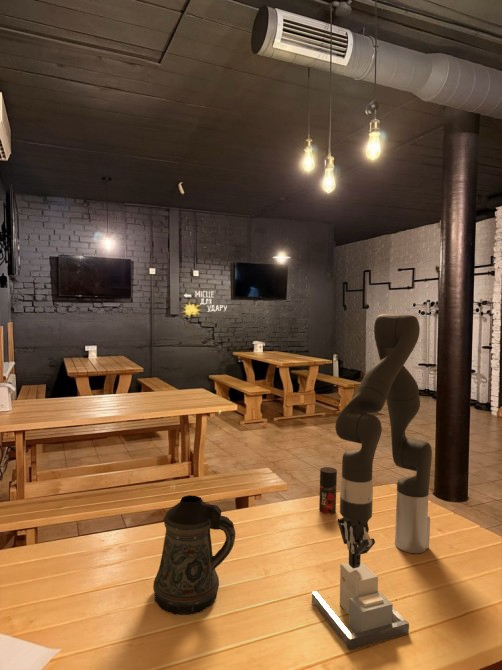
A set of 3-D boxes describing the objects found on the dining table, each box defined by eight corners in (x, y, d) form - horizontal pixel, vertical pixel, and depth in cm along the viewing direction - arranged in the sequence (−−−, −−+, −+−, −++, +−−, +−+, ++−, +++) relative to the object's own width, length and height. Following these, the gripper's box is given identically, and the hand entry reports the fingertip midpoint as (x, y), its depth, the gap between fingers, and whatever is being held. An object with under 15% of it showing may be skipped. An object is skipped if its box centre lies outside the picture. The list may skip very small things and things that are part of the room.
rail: (364, 589, 119) (364, 580, 119) (408, 633, 103) (408, 623, 103) (311, 601, 114) (311, 592, 114) (349, 650, 98) (350, 639, 98)
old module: (378, 619, 108) (379, 588, 107) (391, 634, 103) (392, 601, 102) (348, 627, 105) (349, 595, 104) (361, 642, 100) (362, 609, 100)
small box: (377, 620, 108) (379, 576, 107) (357, 625, 106) (358, 581, 105) (358, 599, 115) (359, 559, 114) (338, 604, 113) (340, 563, 112)
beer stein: (147, 583, 120) (147, 490, 119) (217, 568, 128) (218, 480, 126) (161, 624, 105) (161, 518, 104) (239, 603, 113) (241, 504, 111)
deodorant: (336, 508, 167) (338, 468, 166) (334, 515, 162) (335, 473, 161) (320, 505, 169) (321, 466, 168) (317, 512, 164) (318, 471, 163)
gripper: (386, 505, 104) (384, 578, 105) (354, 483, 116) (352, 549, 117) (358, 509, 101) (356, 585, 102) (328, 487, 114) (326, 554, 115)
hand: (354, 566), depth 110 cm, fingers closed
